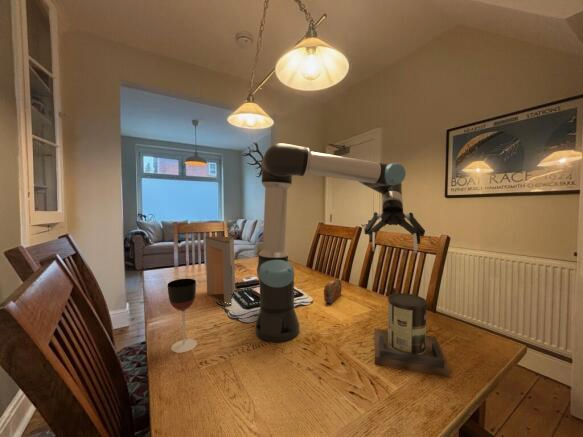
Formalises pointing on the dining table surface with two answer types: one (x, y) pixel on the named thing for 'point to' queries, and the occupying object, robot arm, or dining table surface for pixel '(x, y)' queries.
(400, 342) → the coffee can
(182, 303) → the wineglass
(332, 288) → the brown rounded slab
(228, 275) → the cabinet
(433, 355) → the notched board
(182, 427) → the dining table surface
